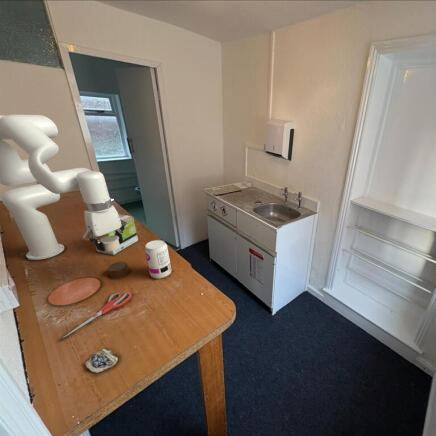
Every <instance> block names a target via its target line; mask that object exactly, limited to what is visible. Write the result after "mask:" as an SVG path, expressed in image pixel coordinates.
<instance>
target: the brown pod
mask: <svg viewBox="0 0 436 436" xmlns="http://www.w3.org/2000/svg"><path fill="white" fill-rule="evenodd" d="M107 271H108V274H109V277H110V278H112V279H118V278H122V277H124V276H126V275H128V274H129V266H128V263H127V262H126V261H116V262H114V263H111V264H110V265H109V266H108V267H107Z"/></svg>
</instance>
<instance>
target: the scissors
mask: <svg viewBox="0 0 436 436" xmlns="http://www.w3.org/2000/svg"><path fill="white" fill-rule="evenodd" d="M116 296H118V297H116ZM132 296H133V295H132V293H131V292H125V293H124V294H122V292H115V293H112V294H111V295H110V296H109V297H108V298H107V301H106V304H104V305H103V306H102V307H101V308H100V309H99V310H98V311H97V312H96V313H95V314H93V315H91V317H89V318H88V319H87V320H85V321H84V322H82V323H81V324H79V325H78V326H76V327H75V328H73V330H70V331H69V332H68V333H66V335H64V336H62V339H63V338H65V337H67V336H69V335H70V334H72V333H74V332H76V331H78V330H80V328H82V327H83V326H85V325H87V324H88V323H90V322H92V321H94V320H96V319H97V318H99V317H100V316H102V315H105V314H107V313H109V312H110V311H112V310H117V309H119V308H122V306H124V305H125V304H127V303H128V302H129V301H130V300H131V299H132ZM114 297H116V298H114ZM113 298H114V299H113ZM125 298H126V299H125ZM112 299H113V300H112Z"/></svg>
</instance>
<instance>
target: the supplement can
mask: <svg viewBox="0 0 436 436" xmlns="http://www.w3.org/2000/svg"><path fill="white" fill-rule="evenodd" d="M144 254H145V258H146V262H147V267H148V272H149V275H150V277H151V278H153V279H155V280H159V279H163V278H166V277H168V276H169V275H170V274H171V273H172V266H171V265H172V264H171V260H170V253H169V248H168V244H167V243H166V242H165V240H161V239H155V240H151V241H149V242H147V243H146V244H145V247H144Z"/></svg>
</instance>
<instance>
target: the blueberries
mask: <svg viewBox="0 0 436 436" xmlns="http://www.w3.org/2000/svg"><path fill="white" fill-rule="evenodd" d="M118 359H119V358H118V357H117V356H115V355H113V352H112V350H110V349H109V348H102V349H100V350H99V351H95V352H94V353H92V355H90V357H89V360H87V361H85V362H84V365H85V366H86V368H87V369H89V371H91V372H92V373H96V374H99V373H100V372H103V371H104V370H105V371H107V369H110V368H112V367H114V366H115V365H116V364H117V362H118Z"/></svg>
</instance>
